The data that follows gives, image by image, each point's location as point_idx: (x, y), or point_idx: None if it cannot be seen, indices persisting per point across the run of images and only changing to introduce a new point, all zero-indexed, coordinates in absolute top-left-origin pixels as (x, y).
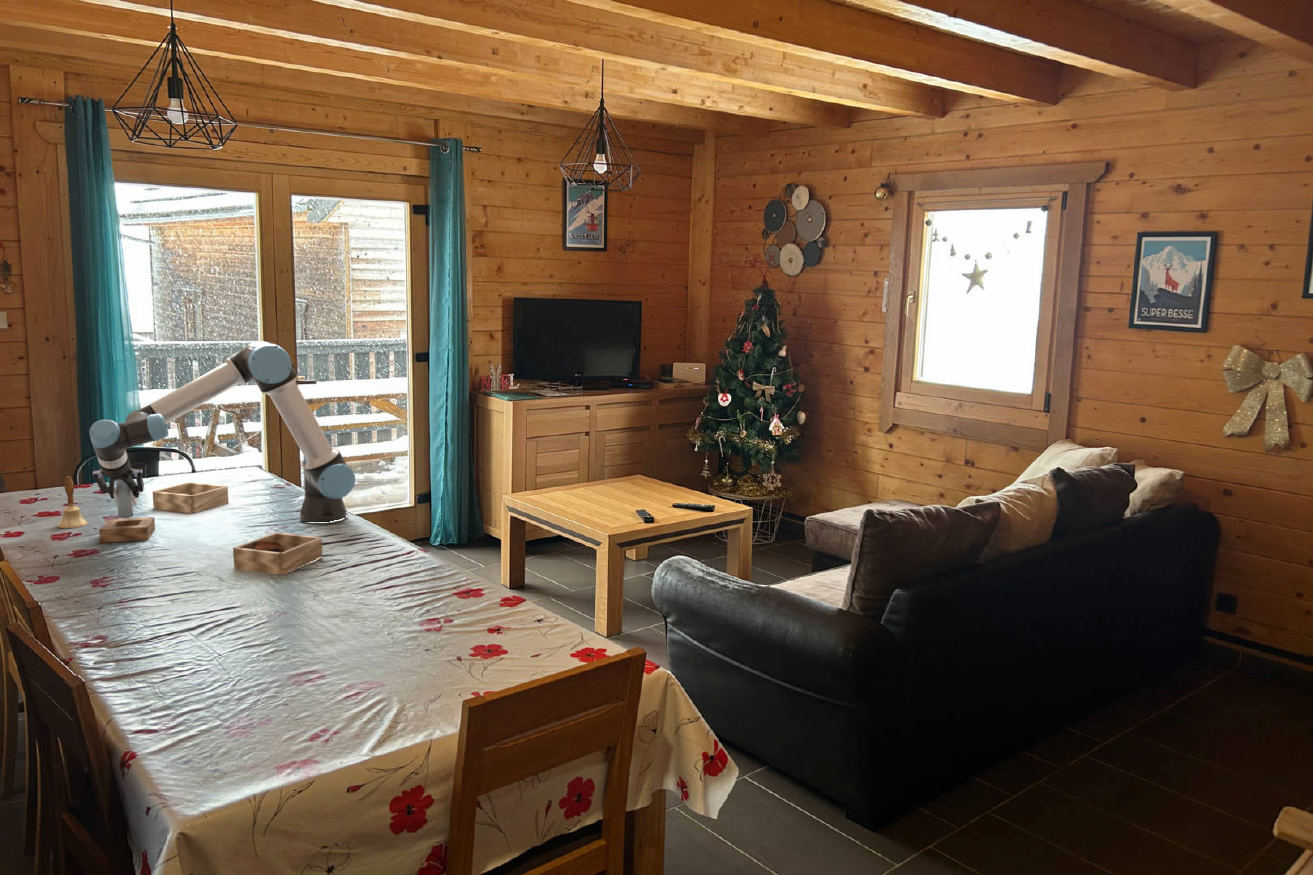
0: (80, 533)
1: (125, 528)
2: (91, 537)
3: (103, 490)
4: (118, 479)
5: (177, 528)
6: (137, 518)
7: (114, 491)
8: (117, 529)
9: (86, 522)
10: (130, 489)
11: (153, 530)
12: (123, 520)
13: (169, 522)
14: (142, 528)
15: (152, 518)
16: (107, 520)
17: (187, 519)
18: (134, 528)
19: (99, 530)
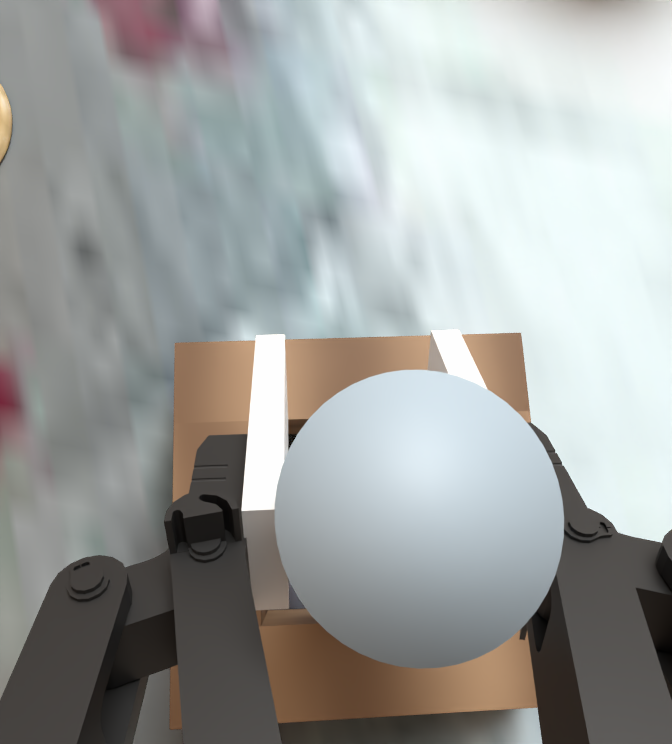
0: (5, 377)
1: (385, 716)
2: (101, 515)
3: (105, 734)
4: (344, 622)
5: (635, 362)
6: (400, 357)
7: (258, 569)
8: (320, 719)
9: (2, 120)
10: (541, 710)
11: None
12: (304, 406)
13: (536, 185)
14: (520, 706)
15: (518, 378)
16: (176, 382)
17: (630, 128)
18: (457, 710)
19: (173, 727)
